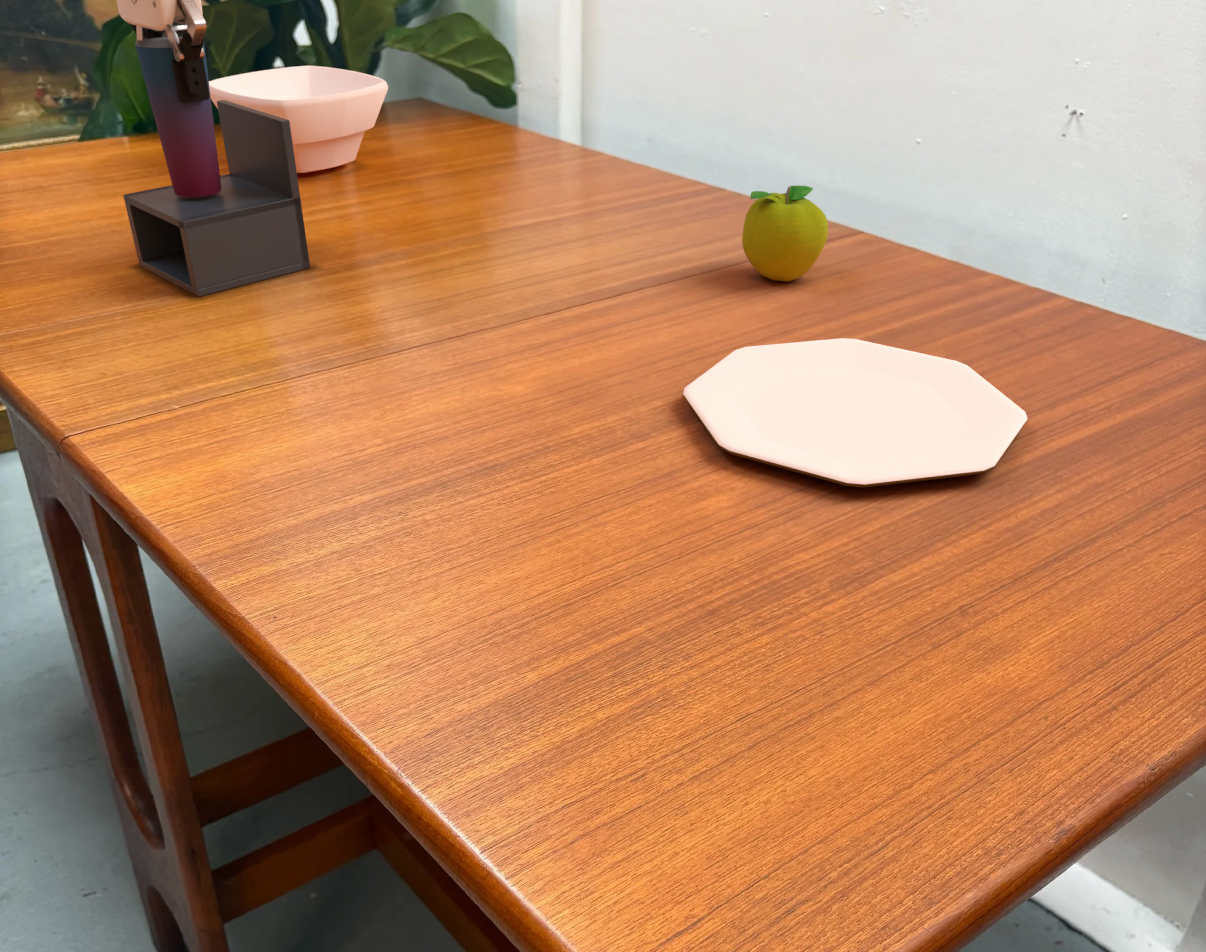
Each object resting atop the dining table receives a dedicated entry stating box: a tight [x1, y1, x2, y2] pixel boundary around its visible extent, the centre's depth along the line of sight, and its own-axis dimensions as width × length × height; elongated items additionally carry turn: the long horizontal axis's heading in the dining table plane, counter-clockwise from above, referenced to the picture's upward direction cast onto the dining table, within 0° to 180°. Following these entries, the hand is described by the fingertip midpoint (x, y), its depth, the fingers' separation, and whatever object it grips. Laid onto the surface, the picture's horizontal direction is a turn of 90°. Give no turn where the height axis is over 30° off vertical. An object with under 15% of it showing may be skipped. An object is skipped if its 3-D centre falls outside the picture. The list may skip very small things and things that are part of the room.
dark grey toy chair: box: [122, 100, 311, 297], centre depth 126 cm, size 14×14×16 cm
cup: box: [134, 36, 221, 197], centre depth 122 cm, size 7×7×15 cm
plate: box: [682, 337, 1028, 488], centre depth 99 cm, size 28×28×2 cm
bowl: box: [209, 65, 389, 174], centre depth 164 cm, size 22×22×12 cm
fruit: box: [741, 185, 829, 283], centre depth 126 cm, size 9×9×10 cm
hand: (178, 94), depth 120 cm, fingers closed on cup, 6 cm apart
